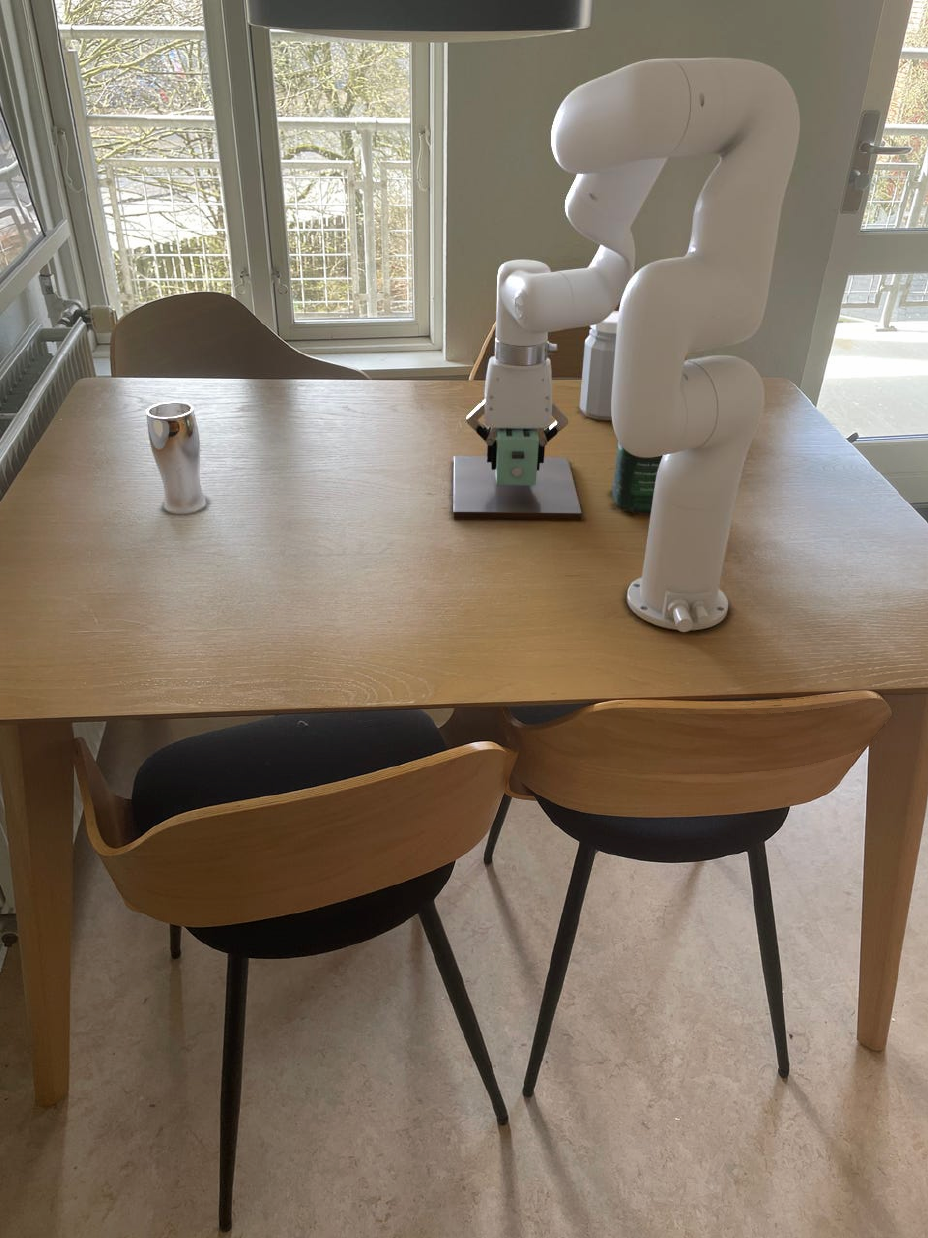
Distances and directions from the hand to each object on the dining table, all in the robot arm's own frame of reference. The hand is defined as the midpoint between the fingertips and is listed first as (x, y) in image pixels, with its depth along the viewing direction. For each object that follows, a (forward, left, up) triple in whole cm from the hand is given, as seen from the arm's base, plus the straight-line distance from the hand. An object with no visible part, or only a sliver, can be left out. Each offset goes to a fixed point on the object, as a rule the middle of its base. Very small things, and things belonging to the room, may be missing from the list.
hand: (514, 465), depth 144 cm
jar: (+35, -19, -4) cm, 40 cm away
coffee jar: (-4, -19, -4) cm, 20 cm away
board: (0, 0, -4) cm, 4 cm away
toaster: (-1, 0, -1) cm, 1 cm away
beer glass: (-7, +50, -4) cm, 51 cm away
